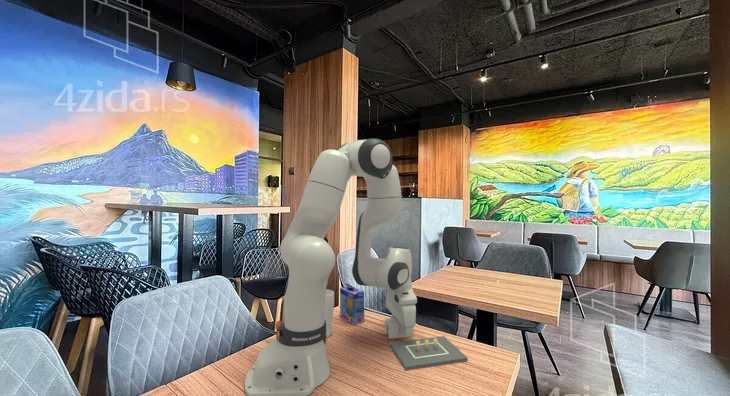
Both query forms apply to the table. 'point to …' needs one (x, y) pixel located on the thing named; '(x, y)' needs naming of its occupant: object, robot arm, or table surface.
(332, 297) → the drinking glass
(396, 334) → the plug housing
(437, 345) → the board
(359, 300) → the ink cartridge box
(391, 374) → the table surface
